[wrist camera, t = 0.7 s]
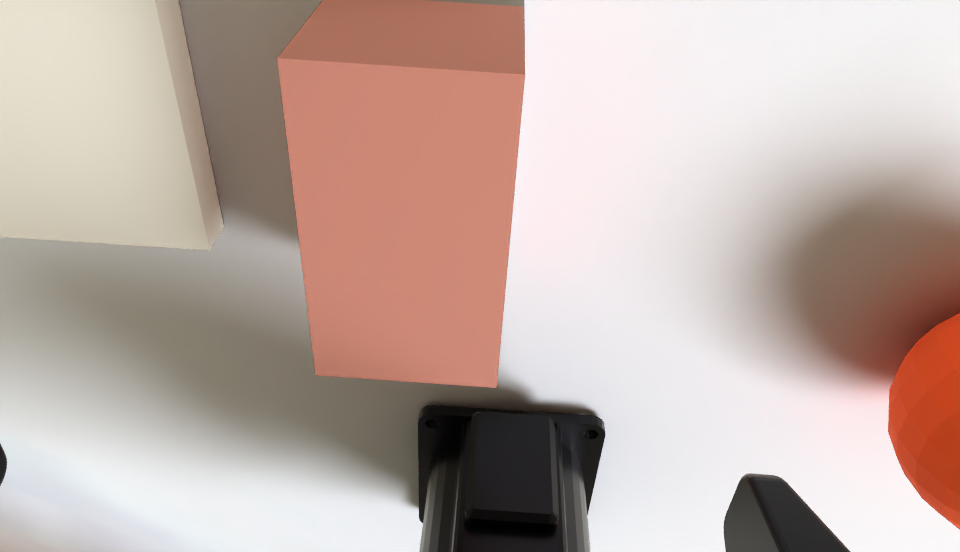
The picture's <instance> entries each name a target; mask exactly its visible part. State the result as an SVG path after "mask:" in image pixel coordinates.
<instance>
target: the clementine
mask: <svg viewBox="0 0 960 552" xmlns="http://www.w3.org/2000/svg"><path fill="white" fill-rule="evenodd" d="M888 432H889V435H890V438H891V441H892V444H893V447H894V450H895V453H896V456H897V458H898V461H899V463H900V465H901V467H902V470H903V472H904V474H905V475H906V477H907V478H908V479H909V481H910V482H911V484H912V485H913V486H914V488H915V489H916V490H917V492H918V493H919V494H920V496H921V497H922V499H924V500H925V501H926V502H927V503H928V504H929V505H930V506H931V507H933V508H934V509H935V510H936V511H937V512H938V513H940V514H941V515H942V516H943V517H945V518H946V519H947V520H948V521H950V522H951V523H952V524H953V525H955V526H956V527H957V528H959V529H960V313H958V314H956V315H954V316H953V317H951V318H949V319H947V320H945V321H944V322H942V323H940V324H938V325H936V326H935V327H934V328H932V329H931V330H930V331H929V332H928V333H926V334H925V335H924V336H923V337H921V338H920V339H919V340H918V341H917V342H916V343H915V345H914V346H913V347H912V348H911V350H910V351H909V352H908V353H907V355H906V356H905V358H904V360H903V362H902V363H901V365H900V367H899V369H898V371H897V373H896V376H895V378H894V381H893V383H892V385H891V388H890V393H889V422H888Z"/></svg>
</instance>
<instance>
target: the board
mask: <svg viewBox="0 0 960 552" xmlns="http://www.w3.org/2000/svg"><path fill="white" fill-rule="evenodd" d="M223 228H224V224H223V219H222V214H221V209H220V205H219V200H218V195H217V190H216V185H215V180H214V175H213V170H212V165H211V160H210V155H209V150H208V145H207V140H206V135H205V130H204V125H203V120H202V115H201V110H200V105H199V100H198V95H197V90H196V85H195V80H194V75H193V70H192V65H191V60H190V55H189V50H188V45H187V40H186V35H185V30H184V25H183V21H182V16H181V11H180V6H179V1H178V0H0V237H6V238H22V239H38V240H53V241H69V242H85V243H100V244H116V245H132V246H147V247H163V248H179V249H194V250H210V249H211V248H212V246H213V245H214V243H215V241H216V240H217V238H218V236H219V235H220V233H221V232H222V230H223Z"/></svg>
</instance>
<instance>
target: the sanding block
mask: <svg viewBox="0 0 960 552" xmlns="http://www.w3.org/2000/svg"><path fill="white" fill-rule="evenodd" d="M277 62H278V70H279V78H280V87H281V95H282V103H283V111H284V120H285V128H286V136H287V145H288V153H289V161H290V169H291V178H292V186H293V194H294V203H295V211H296V219H297V227H298V236H299V244H300V252H301V261H302V269H303V277H304V285H305V294H306V302H307V310H308V318H309V327H310V335H311V343H312V352H313V360H314V368H315V375H318V376H332V377H347V378H361V379H375V380H390V381H404V382H418V383H433V384H447V385H461V386H476V387H490V388H496V387H497V376H498V365H499V354H500V343H501V332H502V321H503V311H504V300H505V289H506V278H507V267H508V256H509V245H510V234H511V223H512V212H513V201H514V190H515V179H516V168H517V157H518V146H519V135H520V124H521V113H522V102H523V91H524V80H525V30H524V0H322V2H321V3H320V4H319V5H318V7H317V8H316V9H315V10H314V12H313V13H312V14H311V16H310V17H309V18H308V19H307V21H306V22H305V23H304V24H303V26H302V27H301V28H300V30H299V31H298V32H297V33H296V35H295V36H294V37H293V38H292V40H291V41H290V42H289V44H288V45H287V46H286V47H285V49H284V50H283V51H282V53H281V54H280V55H279V56H278V58H277Z"/></svg>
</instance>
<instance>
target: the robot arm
mask: <svg viewBox="0 0 960 552" xmlns="http://www.w3.org/2000/svg"><path fill="white" fill-rule="evenodd" d="M431 419H436V420H431ZM589 429H593V430H589ZM604 438H605V428H604V422H603V421H602V419H600V418H598V417H596V416H588V415H573V414H558V413H543V412H528V411H513V410H498V409H482V408H467V407H452V406H437V405H431V406H426V407H424V408H423V409H422V410H421V411H420V414H419V420H418V457H419V519H420V521H421V522H422V523H423V529H422V536H421V544H420V552H590V542H589V530H588V518H587V515H588V510H589V506H590V501H591V497H592V492H593V488H594V483H595V479H596V474H597V470H598V465H599V461H600V456H601V452H602V447H603V443H604ZM6 468H7V459H6V455H5V452H4V450H3V448H2V446H1V444H0V485H1V483H2V481H3V479H4V476H5V473H6ZM724 539H725V547H726V552H850V551H849V550H848V549H847V548H846V547H845V546H844V544H843V543H842V542H841V541H840V540H839V539H838V538H837V537H836V536H835V535H834V534H833V532H832V531H831V530H830V529H829V528H828V527H827V526H826V525H825V524H824V523H823V522H822V521H821V519H820V518H819V517H818V516H817V515H816V514H815V513H814V512H813V511H812V510H811V509H810V507H809V506H808V505H807V504H806V503H805V502H804V501H803V500H802V499H801V498H800V497H799V495H798V494H797V493H796V492H795V491H794V490H793V489H792V488H791V487H790V486H789V485H788V483H787V482H785V481H784V480H783V479H782V478H780V477H778V476H774V475H763V474H746V475H744V476H743V477H742V478H741V480H740V482H739V484H738V486H737V489H736V491H735V494H734V496H733V499H732V501H731V503H730V506H729V508H728V511H727V513H726V516H725V521H724Z"/></svg>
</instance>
